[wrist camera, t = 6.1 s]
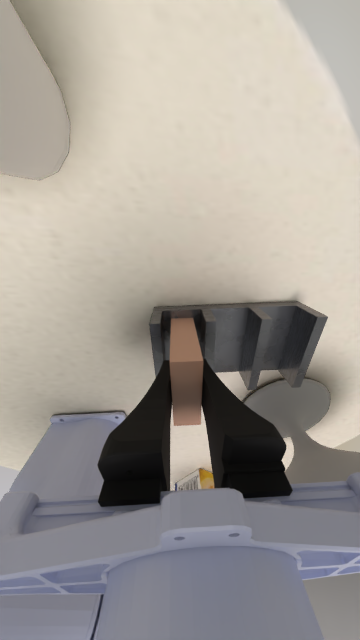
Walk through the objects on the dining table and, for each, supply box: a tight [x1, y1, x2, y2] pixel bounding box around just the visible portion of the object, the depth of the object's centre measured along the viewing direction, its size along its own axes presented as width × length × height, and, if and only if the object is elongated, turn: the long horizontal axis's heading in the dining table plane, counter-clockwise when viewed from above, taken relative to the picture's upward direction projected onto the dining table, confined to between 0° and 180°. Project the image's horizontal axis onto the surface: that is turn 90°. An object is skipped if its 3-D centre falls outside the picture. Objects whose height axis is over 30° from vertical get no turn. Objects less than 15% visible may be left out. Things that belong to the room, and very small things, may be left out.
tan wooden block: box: [170, 318, 203, 426], centre depth 14 cm, size 2×6×6 cm, turn 2°
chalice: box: [244, 378, 360, 640], centre depth 16 cm, size 14×14×15 cm
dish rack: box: [149, 301, 328, 390], centre depth 16 cm, size 14×8×4 cm, turn 92°
